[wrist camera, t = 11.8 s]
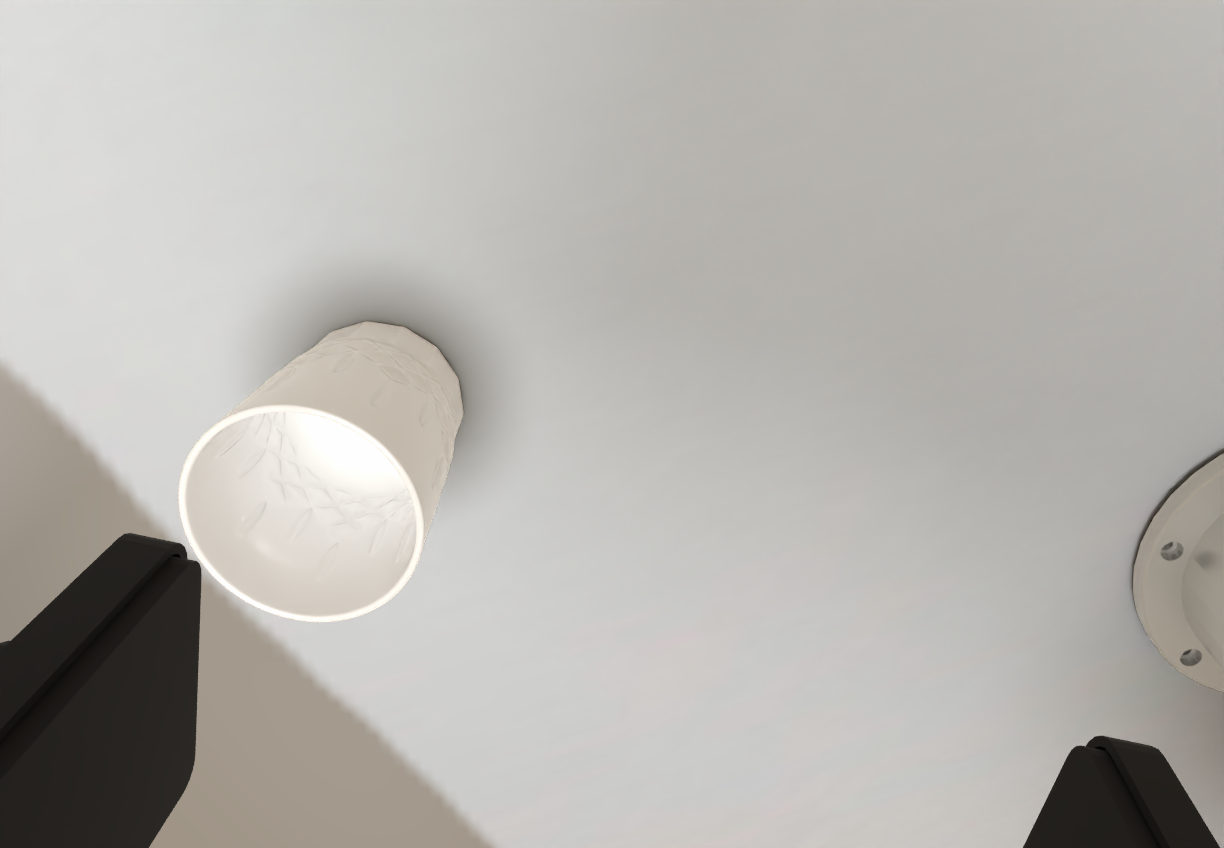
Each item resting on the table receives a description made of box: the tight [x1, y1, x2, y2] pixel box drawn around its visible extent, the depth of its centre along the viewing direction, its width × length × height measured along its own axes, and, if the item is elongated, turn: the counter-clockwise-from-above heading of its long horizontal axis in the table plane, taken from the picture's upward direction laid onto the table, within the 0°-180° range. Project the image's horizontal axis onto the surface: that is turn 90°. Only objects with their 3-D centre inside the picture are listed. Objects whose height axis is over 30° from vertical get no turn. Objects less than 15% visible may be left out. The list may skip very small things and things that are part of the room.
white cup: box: [178, 321, 464, 622], centre depth 37 cm, size 8×8×10 cm
